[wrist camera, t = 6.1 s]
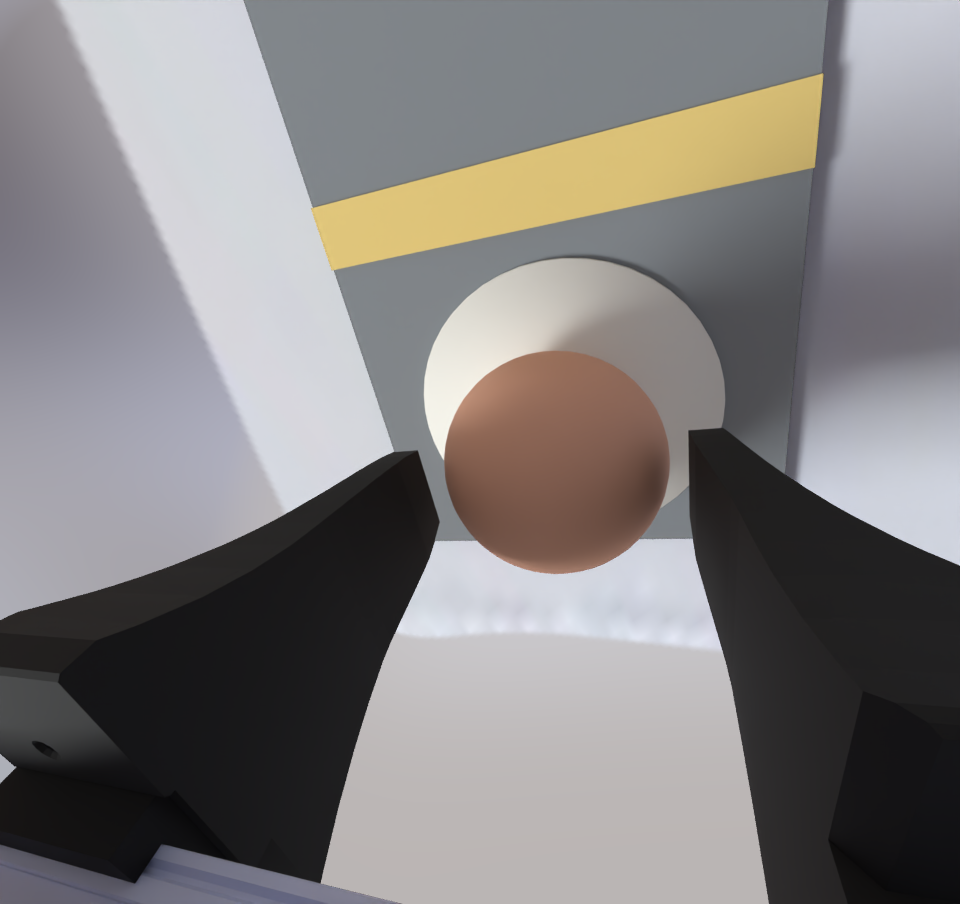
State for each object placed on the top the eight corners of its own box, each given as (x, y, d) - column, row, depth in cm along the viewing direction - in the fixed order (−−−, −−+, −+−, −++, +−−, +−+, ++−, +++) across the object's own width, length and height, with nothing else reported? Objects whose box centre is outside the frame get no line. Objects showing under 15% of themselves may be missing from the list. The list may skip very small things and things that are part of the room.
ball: (702, 384, 12) (750, 503, 8) (593, 517, 15) (584, 657, 10) (524, 286, 12) (475, 353, 8) (447, 439, 14) (379, 551, 10)
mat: (775, 528, 14) (779, 539, 14) (428, 533, 17) (423, 542, 17) (957, -1570, 4) (996, -1772, 4) (58, -596, 7) (25, -642, 7)
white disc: (800, 361, 11) (803, 363, 11) (609, 565, 16) (609, 570, 16) (498, 192, 11) (497, 193, 11) (390, 449, 15) (388, 452, 15)
